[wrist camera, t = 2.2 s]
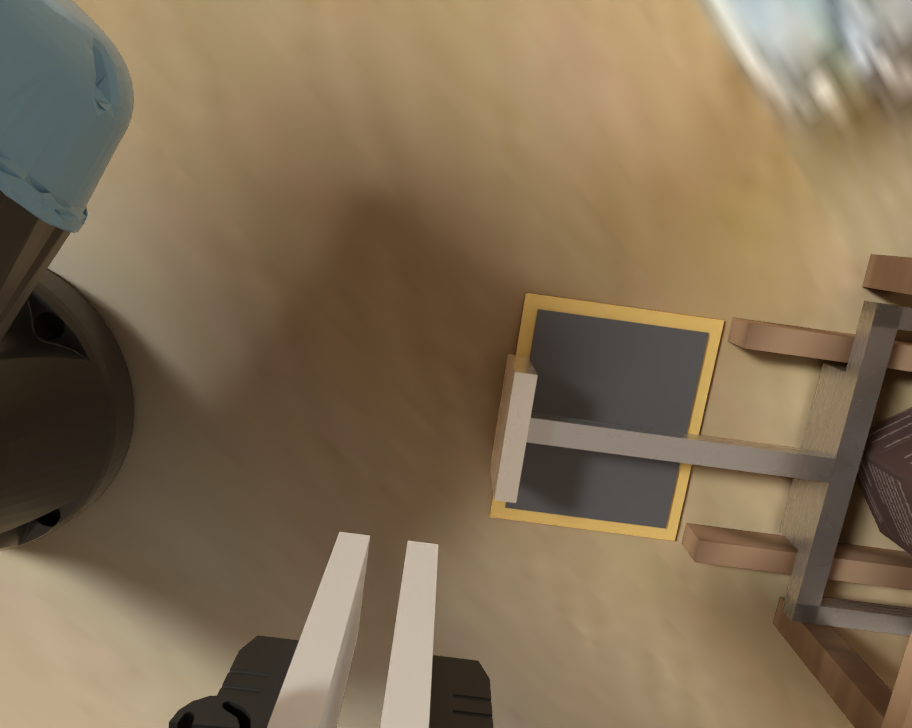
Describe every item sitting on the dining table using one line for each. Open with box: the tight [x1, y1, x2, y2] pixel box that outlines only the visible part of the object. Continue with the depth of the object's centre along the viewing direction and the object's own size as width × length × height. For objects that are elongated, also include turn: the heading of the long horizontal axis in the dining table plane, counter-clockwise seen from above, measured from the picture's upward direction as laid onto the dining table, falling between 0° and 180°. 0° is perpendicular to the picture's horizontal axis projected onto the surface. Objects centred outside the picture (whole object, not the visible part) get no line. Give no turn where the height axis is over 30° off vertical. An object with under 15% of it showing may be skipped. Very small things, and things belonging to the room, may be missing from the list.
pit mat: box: [490, 293, 724, 541], centre depth 35 cm, size 10×12×1 cm
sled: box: [490, 301, 912, 636], centre depth 33 cm, size 29×16×5 cm, turn 82°
